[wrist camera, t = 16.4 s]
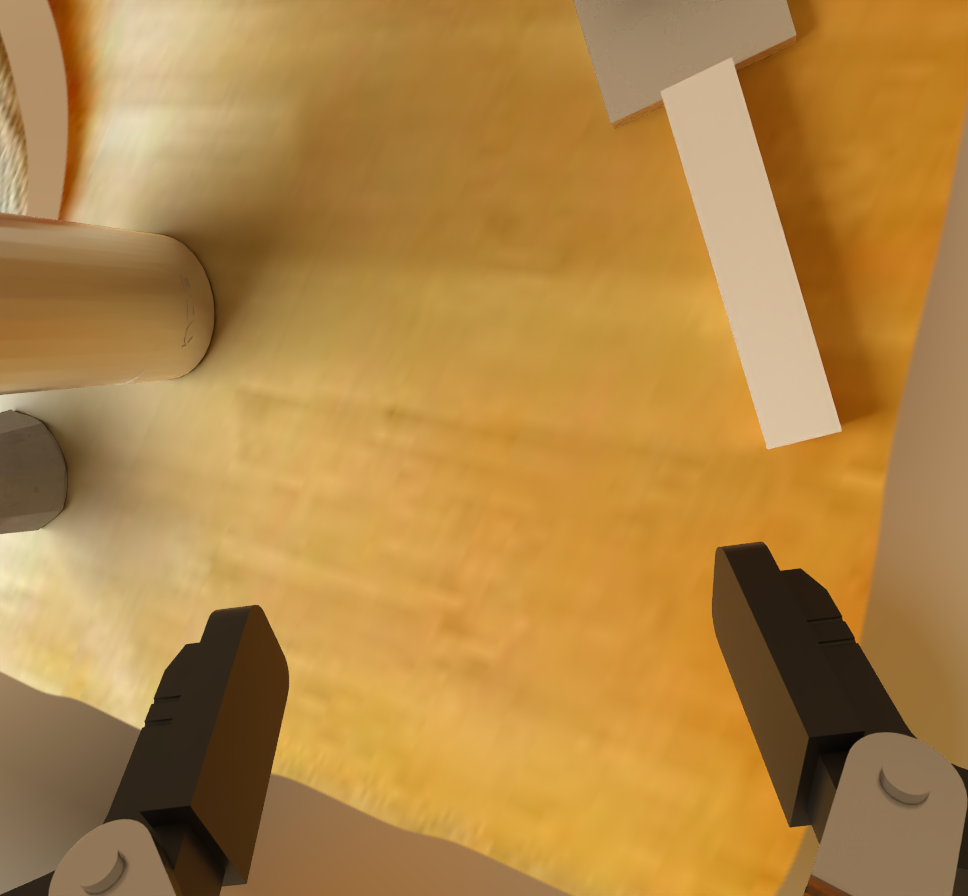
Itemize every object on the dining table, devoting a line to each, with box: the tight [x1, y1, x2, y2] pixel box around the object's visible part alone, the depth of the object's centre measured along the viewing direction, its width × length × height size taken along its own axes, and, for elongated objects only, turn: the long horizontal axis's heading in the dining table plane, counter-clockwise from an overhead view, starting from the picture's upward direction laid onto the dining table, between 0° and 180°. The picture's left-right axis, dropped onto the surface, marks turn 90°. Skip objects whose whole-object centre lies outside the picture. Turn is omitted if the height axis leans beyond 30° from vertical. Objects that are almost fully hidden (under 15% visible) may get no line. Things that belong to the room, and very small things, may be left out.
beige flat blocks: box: [573, 0, 842, 450], centre depth 31 cm, size 26×8×2 cm, turn 20°
